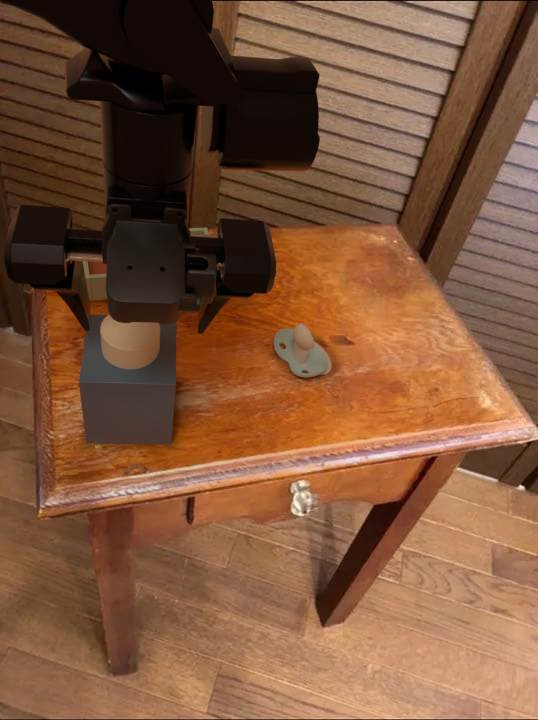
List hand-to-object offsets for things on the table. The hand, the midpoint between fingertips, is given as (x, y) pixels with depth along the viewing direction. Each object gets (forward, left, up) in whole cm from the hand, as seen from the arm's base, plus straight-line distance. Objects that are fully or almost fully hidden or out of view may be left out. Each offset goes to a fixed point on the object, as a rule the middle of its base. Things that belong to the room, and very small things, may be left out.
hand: (145, 328), depth 49 cm
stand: (-1, +1, -13) cm, 13 cm away
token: (-1, +1, -3) cm, 4 cm away
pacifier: (+18, +9, -14) cm, 24 cm away
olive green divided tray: (0, +22, -13) cm, 26 cm away
